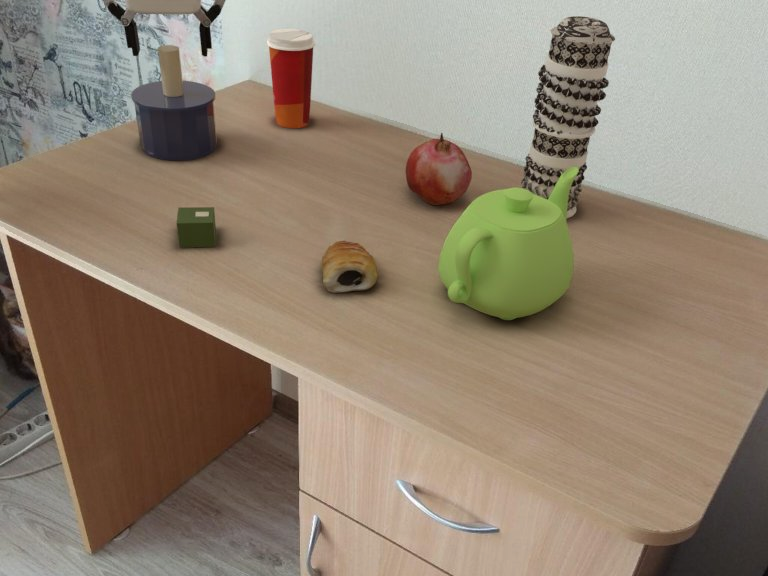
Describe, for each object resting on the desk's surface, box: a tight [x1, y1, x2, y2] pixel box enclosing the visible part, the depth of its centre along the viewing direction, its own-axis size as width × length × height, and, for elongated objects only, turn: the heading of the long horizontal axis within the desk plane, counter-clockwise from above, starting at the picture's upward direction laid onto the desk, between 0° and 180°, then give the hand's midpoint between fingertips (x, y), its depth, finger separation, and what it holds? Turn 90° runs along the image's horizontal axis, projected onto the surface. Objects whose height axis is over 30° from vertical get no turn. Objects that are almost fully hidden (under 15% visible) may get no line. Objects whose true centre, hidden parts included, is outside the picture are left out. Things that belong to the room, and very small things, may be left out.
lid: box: [130, 44, 216, 112], centre depth 114 cm, size 12×12×8 cm
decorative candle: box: [520, 15, 616, 219], centre depth 105 cm, size 9×9×25 cm
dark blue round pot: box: [133, 100, 218, 162], centre depth 119 cm, size 11×11×8 cm
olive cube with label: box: [176, 206, 217, 248], centre depth 98 cm, size 4×4×4 cm
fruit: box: [405, 132, 473, 206], centre depth 109 cm, size 9×10×10 cm
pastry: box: [320, 240, 379, 294], centre depth 93 cm, size 9×7×4 cm
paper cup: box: [266, 28, 316, 129], centre depth 127 cm, size 8×8×14 cm
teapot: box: [437, 167, 579, 321], centre depth 90 cm, size 22×15×13 cm
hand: (171, 53), depth 112 cm, fingers open, 9 cm apart
